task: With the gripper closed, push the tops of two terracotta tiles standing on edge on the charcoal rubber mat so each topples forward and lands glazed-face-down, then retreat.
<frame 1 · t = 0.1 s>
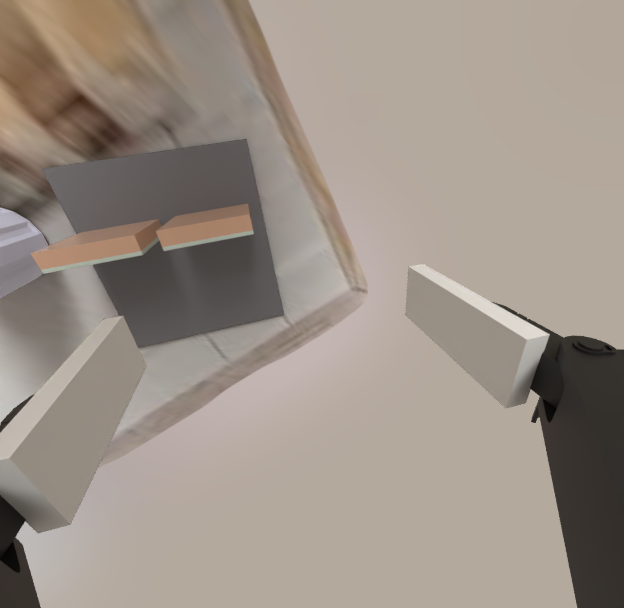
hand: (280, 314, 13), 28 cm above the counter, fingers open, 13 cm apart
tile a: (214, 217, 36), point 1 cm above the counter, touching mat
mat: (186, 254, 38), on the counter
soap bottle: (6, 244, 33), on the counter
tile b: (124, 233, 35), point 1 cm above the counter, touching mat
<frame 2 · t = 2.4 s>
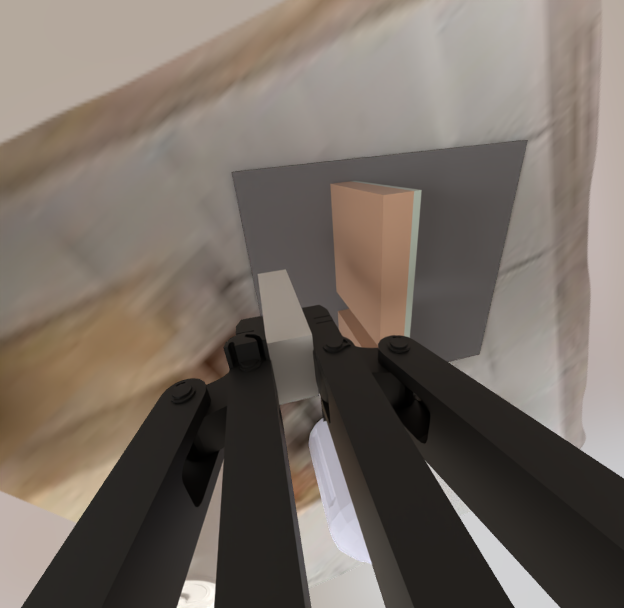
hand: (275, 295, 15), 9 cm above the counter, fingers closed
tile a: (345, 240, 24), point 1 cm above the counter, touching mat
mat: (385, 284, 27), on the counter
beverage can: (196, 457, 32), on the counter
soap bottle: (342, 430, 35), on the counter
tile b: (349, 348, 29), point 1 cm above the counter, touching mat
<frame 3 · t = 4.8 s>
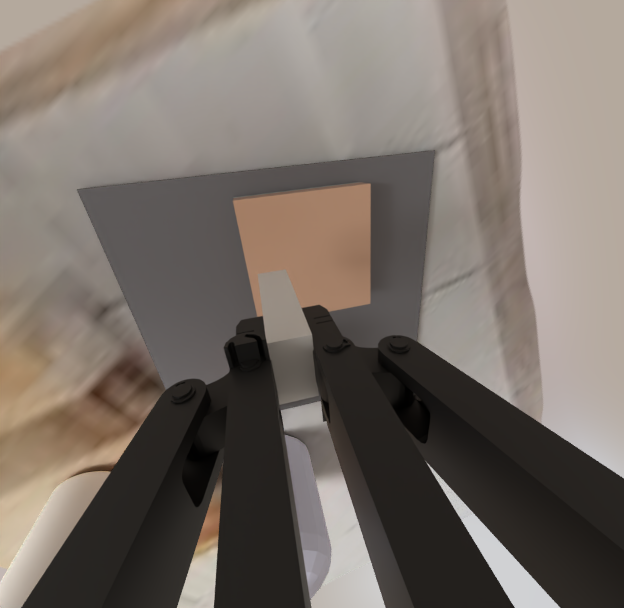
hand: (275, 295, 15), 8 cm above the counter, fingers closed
tile a: (247, 264, 20), point 2 cm above the counter, tilted 90°, touching mat
mat: (292, 307, 25), on the counter
beverage can: (103, 489, 29), on the counter
soap bottle: (270, 458, 33), on the counter
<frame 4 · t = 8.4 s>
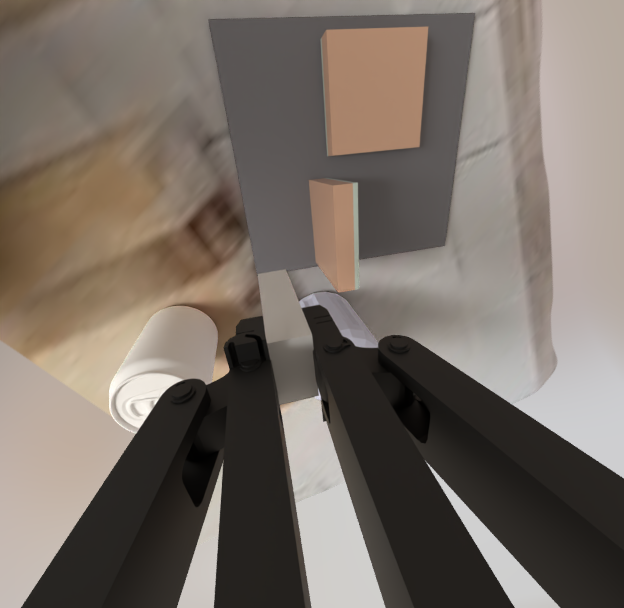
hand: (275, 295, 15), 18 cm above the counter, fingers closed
tile a: (326, 100, 26), point 2 cm above the counter, tilted 90°, touching mat
mat: (352, 159, 30), on the counter
beverage can: (183, 332, 35), on the counter
soap bottle: (319, 320, 38), on the counter
tile b: (321, 222, 32), point 1 cm above the counter, touching mat
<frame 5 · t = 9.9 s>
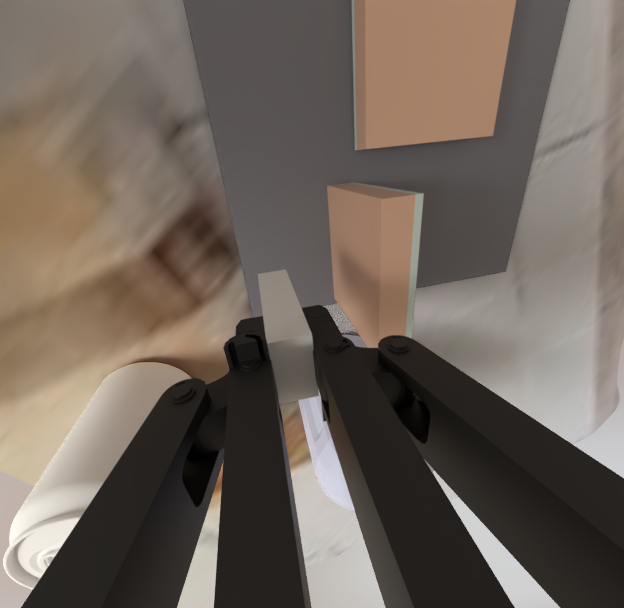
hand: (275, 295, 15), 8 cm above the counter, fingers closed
tile a: (358, 61, 16), point 2 cm above the counter, tilted 90°, touching mat
mat: (389, 154, 21), on the counter
beverage can: (154, 392, 25), on the counter
soap bottle: (336, 369, 29), on the counter
tile b: (343, 245, 22), point 1 cm above the counter, touching mat
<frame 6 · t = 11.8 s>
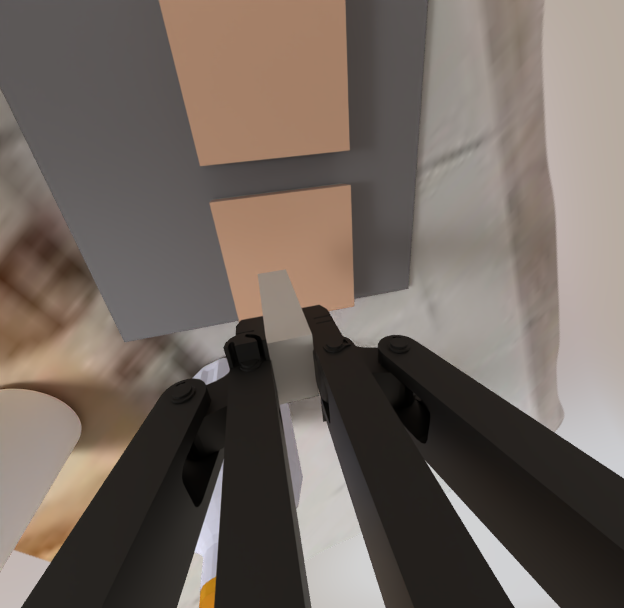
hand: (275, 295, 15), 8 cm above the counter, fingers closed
tile a: (179, 72, 15), point 2 cm above the counter, tilted 90°, touching mat
mat: (251, 169, 19), on the counter
beverage can: (30, 418, 24), on the counter
soap bottle: (237, 390, 27), on the counter
tile b: (227, 267, 20), point 2 cm above the counter, tilted 90°, touching mat
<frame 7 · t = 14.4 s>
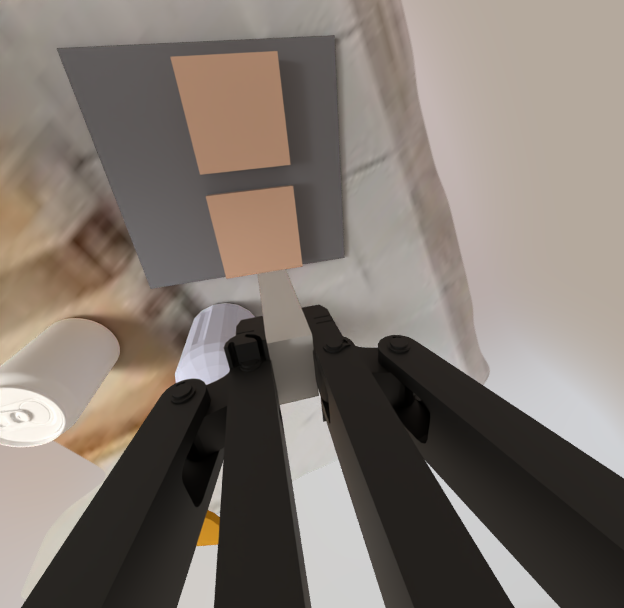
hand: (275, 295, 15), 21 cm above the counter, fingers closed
tile a: (188, 121, 26), point 2 cm above the counter, tilted 90°, touching mat
mat: (232, 175, 31), on the counter
beverage can: (86, 342, 36), on the counter
soap bottle: (226, 330, 39), on the counter
tile b: (217, 238, 32), point 2 cm above the counter, tilted 90°, touching mat
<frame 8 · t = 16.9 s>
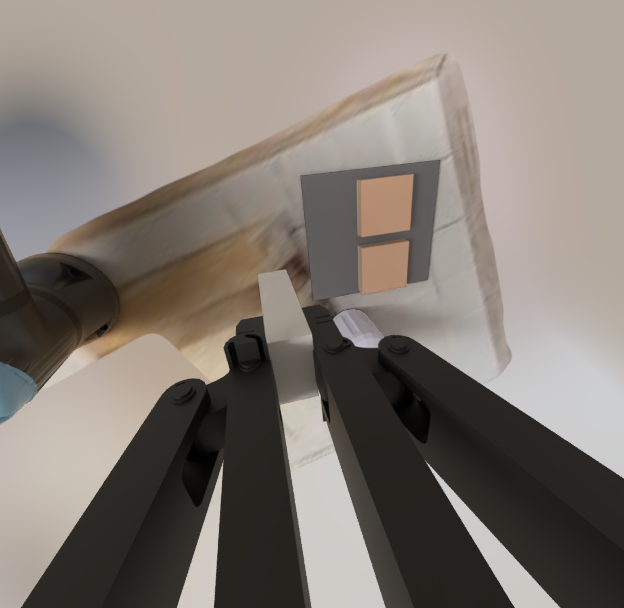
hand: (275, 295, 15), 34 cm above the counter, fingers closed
tile a: (359, 209, 47), point 2 cm above the counter, tilted 90°, touching mat
mat: (371, 234, 52), on the counter
soap bottle: (348, 326, 60), on the counter
tile b: (360, 270, 52), point 2 cm above the counter, tilted 90°, touching mat
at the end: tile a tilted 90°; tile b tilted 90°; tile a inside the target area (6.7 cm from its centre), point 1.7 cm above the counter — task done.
